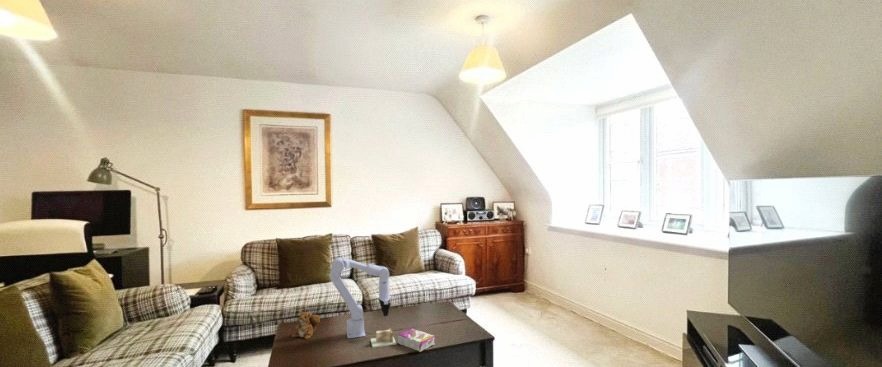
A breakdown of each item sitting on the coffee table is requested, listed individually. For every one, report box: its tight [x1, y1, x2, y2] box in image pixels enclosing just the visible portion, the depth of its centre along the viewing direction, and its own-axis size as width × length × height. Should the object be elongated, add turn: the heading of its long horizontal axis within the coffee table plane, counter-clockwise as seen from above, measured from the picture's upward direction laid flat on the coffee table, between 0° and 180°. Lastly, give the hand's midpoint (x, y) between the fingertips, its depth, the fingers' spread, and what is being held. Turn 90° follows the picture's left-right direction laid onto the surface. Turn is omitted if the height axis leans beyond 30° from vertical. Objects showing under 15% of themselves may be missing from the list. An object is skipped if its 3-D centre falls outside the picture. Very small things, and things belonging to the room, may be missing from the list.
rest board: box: [370, 336, 397, 349], centre depth 198 cm, size 12×10×1 cm
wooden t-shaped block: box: [375, 327, 394, 343], centre depth 198 cm, size 8×7×5 cm
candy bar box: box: [397, 327, 436, 353], centre depth 195 cm, size 11×5×16 cm
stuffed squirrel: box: [291, 311, 321, 340], centre depth 211 cm, size 10×14×13 cm
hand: (384, 313), depth 212 cm, fingers open, 7 cm apart
